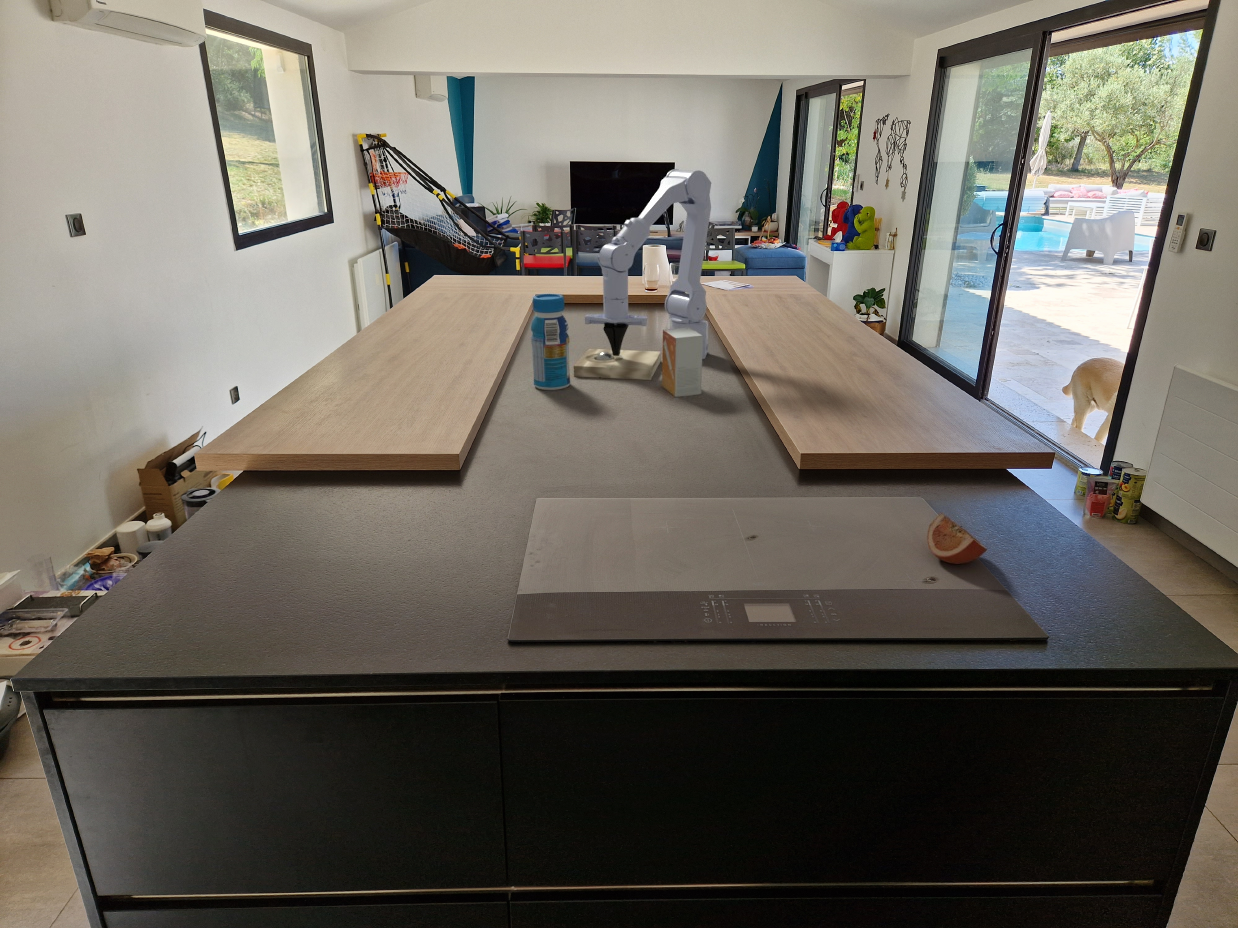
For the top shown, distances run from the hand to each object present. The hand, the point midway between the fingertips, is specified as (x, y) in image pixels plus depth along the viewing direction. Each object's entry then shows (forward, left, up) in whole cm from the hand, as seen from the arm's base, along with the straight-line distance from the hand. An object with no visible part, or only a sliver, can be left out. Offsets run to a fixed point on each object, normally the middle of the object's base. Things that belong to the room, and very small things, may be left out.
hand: (616, 354), depth 193 cm
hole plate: (0, 0, -3) cm, 3 cm away
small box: (-18, +15, -4) cm, 23 cm away
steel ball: (+3, 0, -1) cm, 3 cm away
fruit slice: (-62, +83, -4) cm, 104 cm away
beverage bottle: (+12, +16, -4) cm, 20 cm away
